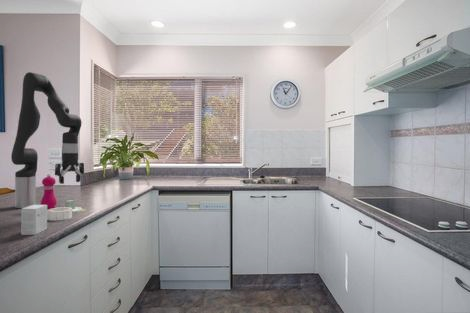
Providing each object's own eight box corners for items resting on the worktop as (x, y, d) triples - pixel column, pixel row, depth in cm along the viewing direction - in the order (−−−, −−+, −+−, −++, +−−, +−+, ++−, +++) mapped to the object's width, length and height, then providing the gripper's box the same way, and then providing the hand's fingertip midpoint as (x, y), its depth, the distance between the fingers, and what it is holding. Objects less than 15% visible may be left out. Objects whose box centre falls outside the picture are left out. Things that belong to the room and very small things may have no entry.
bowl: (42, 220, 129) (42, 210, 129) (64, 216, 138) (64, 206, 138) (55, 223, 125) (55, 212, 125) (76, 219, 134) (76, 208, 134)
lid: (51, 211, 143) (52, 201, 143) (73, 207, 154) (73, 198, 153) (65, 214, 138) (65, 203, 138) (87, 210, 148) (87, 200, 148)
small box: (33, 229, 116) (33, 204, 116) (47, 229, 117) (47, 204, 117) (20, 235, 108) (20, 208, 108) (35, 235, 109) (35, 208, 109)
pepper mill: (48, 213, 144) (48, 175, 143) (37, 212, 145) (37, 174, 144) (59, 210, 151) (60, 173, 150) (48, 209, 152) (49, 173, 151)
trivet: (51, 213, 143) (51, 211, 143) (73, 209, 154) (73, 207, 154) (65, 216, 138) (65, 214, 138) (87, 211, 148) (87, 210, 148)
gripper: (78, 152, 153) (78, 181, 153) (51, 152, 140) (51, 183, 141) (87, 152, 150) (87, 182, 150) (60, 152, 137) (60, 184, 137)
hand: (70, 182), depth 145 cm, fingers open, 8 cm apart
